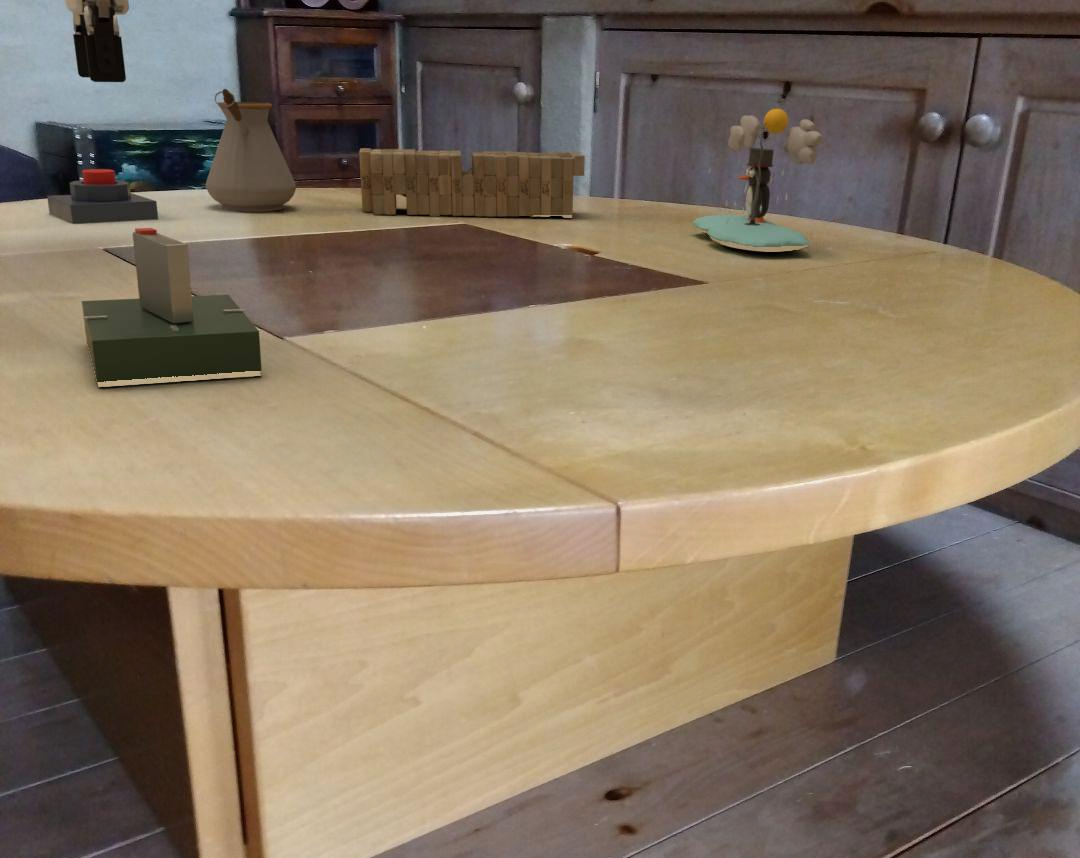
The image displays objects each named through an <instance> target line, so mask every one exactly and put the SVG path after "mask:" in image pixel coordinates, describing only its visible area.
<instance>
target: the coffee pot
mask: <svg viewBox="0 0 1080 858" xmlns="http://www.w3.org/2000/svg"><path fill="white" fill-rule="evenodd" d="M219 94H222V96H223V97H222V100H223V101H221V102H218V101H217V96H218V95H219ZM214 102H215V104H216V105H217V106H218V107H219V108H220V110H221V111H222V113H223V115H224V116H225V118H226V122H225V124H224V127H223V130H222V133H221V136H220V139H219V142H218V146H217V147H216V148H217V149H216V151H215V155H214V157H213V160H212V163H211V166H210V170H209V173H208V175H207V178H206V182H205V189H206V190H207V192H208V194H209V196H210V197H211V198H212V199H213V200H214V201H216V202H217V203H219V204H220V205H222V207H223V208H224V209H223V208H222V209H223V210H227V209H228V210H227V211H233V210H234V212H252V213H253V212H256V213H257V212H274V211H280V210H282V209H283V210H284V208H283V207H284V205H285V204H287V203H288V202H290V201H291V199H292V198H293V197H294V195H295V193H296V190H297V184H296V182H295V179H294V177H293V175H292V172H291V170H290V168H289V166H288V164H287V161H286V159H285V156H284V155H283V153H282V150H281V147H280V146H279V144H278V141H277V140H276V137H275V135H274V133H273V130H272V129H271V125H270V123H269V121H268V118H269V112H270V109H271V108H273V105H272V103H269V102H255V101H236V98H235V95H234V93H232V92H231V91H230V90H228V89H227V88H223V89H222V90H221V91H218V92H217V93H215V95H214Z"/></svg>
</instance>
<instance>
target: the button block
mask: <svg viewBox="0 0 1080 858" xmlns="http://www.w3.org/2000/svg"><path fill="white" fill-rule="evenodd" d="M69 190H70V194H63V195H62V194H61V195H58V194H57V195H47V196H46V198H47V199H46V200H47V205H48V213H49V215H50V216H52V217H55V218H57V219H60V220H62V221H65V222H67V223H68V224H69V223H70V224H72V225H80V224H97V223H99V224H100V223H113V222H114V223H117V222H135V221H151V220H152V221H153V220H154V221H155V220H159V213H158V212H159V211H158V203H157V201H156V200H154V199H152V198H148V197H145V196H142V195H139V194H135V193H133V192H132V191H131V183H130V181H126V180H118V179H116V184H108V185H91V184H84V182H83V179H82V180H81V179H80V180H73V181H70V182H69Z"/></svg>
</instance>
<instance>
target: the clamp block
mask: <svg viewBox="0 0 1080 858" xmlns="http://www.w3.org/2000/svg"><path fill="white" fill-rule="evenodd" d="M192 305H193V317H194V322H189V323H180V324H173V323H171V322H169V321H167V320H165V319H163V318H161V317H159V316H157V315H155V314H153V313H151V312H149V311H147V310H145V309H143V308H141V307H140V299H139V298H123V299H119V298H118V299H97V300H82V301H81V307H82V315H83V324H84V331H85V338H86V345H87V344H88V345H87V349H88V348H89V349H88V352H89V351H90V354H89V356H90V355H91V358H90V360H91V359H92V362H91V364H92V363H93V366H92V368H93V367H94V370H93V372H94V371H95V374H94V376H95V375H96V378H95V380H96V379H97V382H104V381H105V382H106V381H117V380H132V379H145V378H146V379H147V378H158V377H160V378H161V377H172V376H174V377H175V376H176V377H178V376H192V375H194V376H195V375H204V374H205V375H207V374H217V373H218V374H219V373H232V372H245V371H261V370H263V369H262V357H261V356H262V355H261V339H260V331H259V330H258V328H257V327H256V326H255V324H254V323H253V322H252V320H250V319H249V317H248V316H247V315H246V314H245V312H246V309H245V308H240V307H239V305H238V304H237V303H236V302H235V301H234V300H233V298H232V297H231V296H230V295H229V294H215V295H214V294H212V295H210V294H209V295H192ZM97 382H96V383H97Z"/></svg>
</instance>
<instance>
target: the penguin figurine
mask: <svg viewBox="0 0 1080 858" xmlns="http://www.w3.org/2000/svg"><path fill="white" fill-rule="evenodd" d="M785 111H786V110H784V109H781V108H772V109H770V110H769V111H768V112H767V113H766V114H765V116H764V119H763V126H764V127H761V124H760V120H759V119H758V118H757V116H754V115H751V114H750V115H743V116H742V117H741V118H740V124H739V125H732V126H731V127H730V131H729V133H730V136H729V138H728V143H727V145H728V148H729V149H730V150H733V151H735V152H737V153H739V152H741V151H742V149H743V146H745V147H746V148H749V156H748V163H746V166H747V168H746V170H745V175H743V176H739V177H735V179H736V180H743V181H744V180H745V181H748V183H745V187H744V190H743V193H746V196H745V197H746V198H745V199H744V202H745V208H742V211H741V213H742V214H744V213H745V212H746V214H747V215H736V214H731V213H732V211H731V208H729V211H728V214H712V215H710V214H709V215H704V216H701V217H698V218H696V219H694V220H693V222H692V223H691V224H692V227H693V228H694V227H696V228H699V229H701V230H706V231H708V235H709V236H710V237H712V238H714V239H716V240H719V241H725V242H732V243H737V244H741V245H745V246H753V247H781V246H804V245H809V246H810V241H809V239H808V238H807V236H806V235H804V234H803V233H802V232H799V231H797V230H795V229H792V228H790V227H785V226H782V225H778V224H776V223H774V222H773V221H771V220H768V219H765V218H764V217H765V216H766V214H767V213H768V211H769V207H770V197H771V191H770V187H769V185H768V184H769V183H770V185H771V184H772V182H773V181H772V180H773V178H774V177H775V174H776V172H772V173H771V170H770V168H773V167H774V165H773V161H774V153H775V149H774V148H764V147H765V146H767V145H763V144H762V143H763V142H764V141H768V140H771V137H769V138H767V139H766V138H765V139H763V137H764V134H765V132H769V133H770V134H774V135H777V134H781V133H782V132H784V131H785V130H786V128H787V127H788V125H789V117H788V113H787V112H785ZM798 125H799V126H792V127H790V128H789V129H788V131H787V141H786V142H785V143H783V145H782V150H783V152H785V153H786V154H789V158H790V160H791V162H792V163H793V164H797V165H803V164H814V163H815V162H816V160H817V157H818V150H817V149H816V148H817V146H818V145H820V144H821V143H822V142H823V135H822V134H821V133H820V131H817V130H816V131H815V127H816V126H815V123H814V122H813V121H812V120H810V119H806V118H805V119H801V120H800V121H799V124H798ZM760 129H762V134H761V136H760V137H759V132H760ZM758 137H759V139H760V141H759V142H757V139H758ZM773 138H774V137H772V139H773ZM756 142H757V144H759V146H760V147H754V146H755V144H756ZM711 170H712V168H711V167H709V168H708V174H709V175H710V173H711ZM781 176H782V177H781V178H782V179H783V178H784V176H785V170H784V168H782V171H781ZM788 196H789V194H788V193H785V196H784V199H786V201H788ZM736 200H737V199H735V201H734V203H733V205H734V206H736V204H737V201H736ZM728 203H729V202H728V201H725V207H727V206H728ZM776 203H779V195H777V196H776ZM718 207H719V209H718V210H719V211H721V210H722V206H721V204H720V205H719V206H718ZM709 236H708V237H709ZM710 237H709V238H710Z"/></svg>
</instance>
